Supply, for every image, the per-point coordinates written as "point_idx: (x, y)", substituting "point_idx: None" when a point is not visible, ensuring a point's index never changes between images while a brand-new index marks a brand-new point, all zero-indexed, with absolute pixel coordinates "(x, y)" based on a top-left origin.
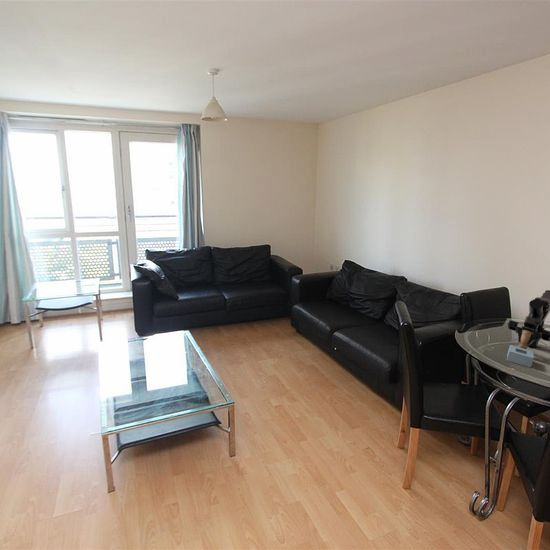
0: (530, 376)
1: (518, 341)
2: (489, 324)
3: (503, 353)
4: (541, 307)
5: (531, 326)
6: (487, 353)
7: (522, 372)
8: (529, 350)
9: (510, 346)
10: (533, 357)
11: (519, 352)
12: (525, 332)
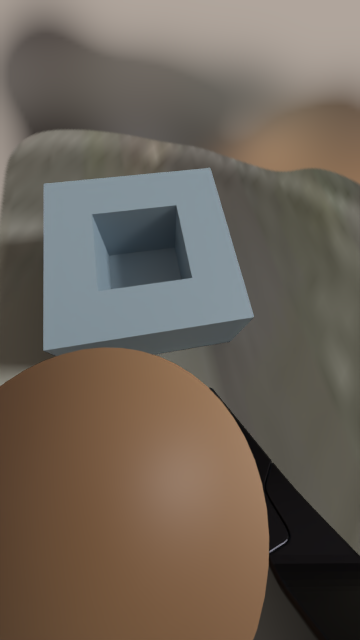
0: (72, 139)
1: (210, 388)
2: None
3: (249, 323)
4: None
5: None
6: (306, 233)
7: (108, 151)
8: (78, 338)
9: (237, 277)
10: (44, 195)
11: (147, 205)
12: (146, 354)
